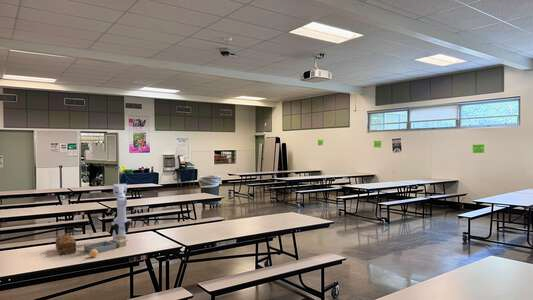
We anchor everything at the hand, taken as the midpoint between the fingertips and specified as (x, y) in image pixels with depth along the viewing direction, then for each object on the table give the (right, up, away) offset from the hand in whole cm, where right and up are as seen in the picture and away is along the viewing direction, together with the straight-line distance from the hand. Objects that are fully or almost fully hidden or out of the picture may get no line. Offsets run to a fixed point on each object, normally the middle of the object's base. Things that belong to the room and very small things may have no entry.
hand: (121, 233), depth 252 cm
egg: (-8, -9, -26) cm, 28 cm away
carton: (-1, -10, 0) cm, 10 cm away
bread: (-34, -10, -12) cm, 37 cm away
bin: (-11, -9, -8) cm, 17 cm away
